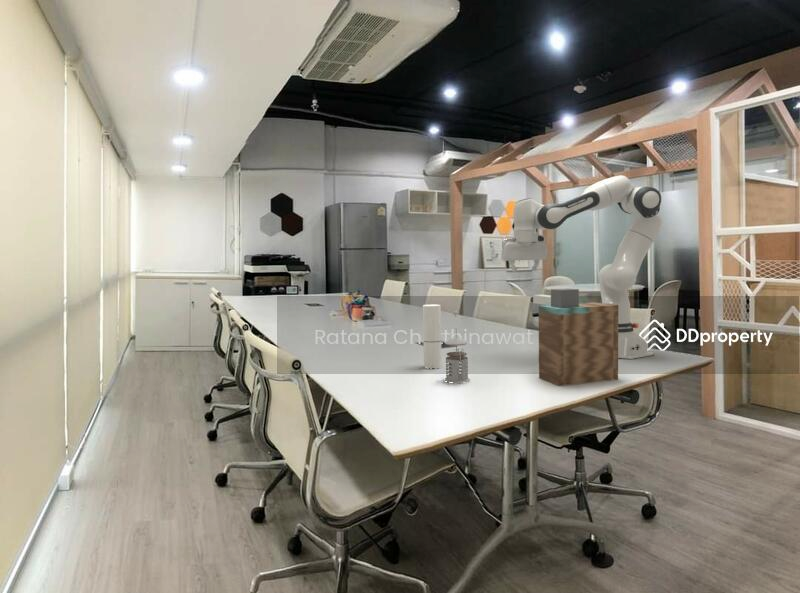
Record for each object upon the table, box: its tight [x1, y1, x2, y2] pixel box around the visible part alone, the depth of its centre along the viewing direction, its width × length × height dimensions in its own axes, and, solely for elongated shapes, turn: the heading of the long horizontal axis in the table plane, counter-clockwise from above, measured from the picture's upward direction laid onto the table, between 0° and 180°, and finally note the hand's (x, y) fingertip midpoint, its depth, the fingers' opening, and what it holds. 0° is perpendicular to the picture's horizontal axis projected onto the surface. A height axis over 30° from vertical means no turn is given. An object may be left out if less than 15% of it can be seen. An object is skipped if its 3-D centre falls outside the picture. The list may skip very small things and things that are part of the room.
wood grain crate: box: [538, 301, 619, 387], centre depth 185 cm, size 24×12×26 cm, turn 107°
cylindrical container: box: [422, 303, 443, 369], centre depth 211 cm, size 7×7×25 cm
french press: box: [444, 310, 471, 384], centre depth 187 cm, size 10×12×25 cm
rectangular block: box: [532, 288, 580, 308], centre depth 188 cm, size 7×20×6 cm, turn 17°
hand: (524, 271), depth 221 cm, fingers open, 8 cm apart
